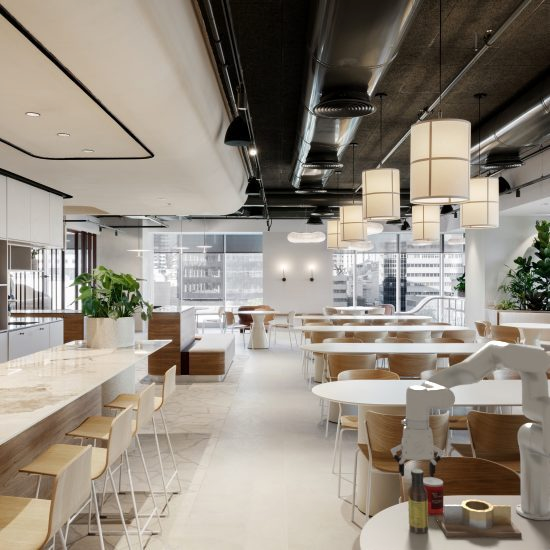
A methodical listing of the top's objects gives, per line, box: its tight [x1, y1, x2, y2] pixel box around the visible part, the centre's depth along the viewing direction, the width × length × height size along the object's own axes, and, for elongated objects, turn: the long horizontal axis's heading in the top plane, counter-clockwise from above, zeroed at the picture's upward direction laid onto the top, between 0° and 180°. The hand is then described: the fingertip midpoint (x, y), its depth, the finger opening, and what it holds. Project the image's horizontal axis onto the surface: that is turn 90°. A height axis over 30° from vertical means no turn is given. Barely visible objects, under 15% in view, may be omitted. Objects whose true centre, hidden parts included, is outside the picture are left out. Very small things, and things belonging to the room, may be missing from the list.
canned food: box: [423, 476, 444, 516], centre depth 208 cm, size 8×8×11 cm
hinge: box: [443, 499, 512, 530], centre depth 194 cm, size 10×22×6 cm, turn 88°
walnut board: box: [435, 513, 523, 539], centre depth 194 cm, size 14×24×2 cm, turn 88°
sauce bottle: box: [407, 468, 429, 535], centre depth 193 cm, size 6×6×20 cm
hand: (416, 475), depth 193 cm, fingers open, 9 cm apart
